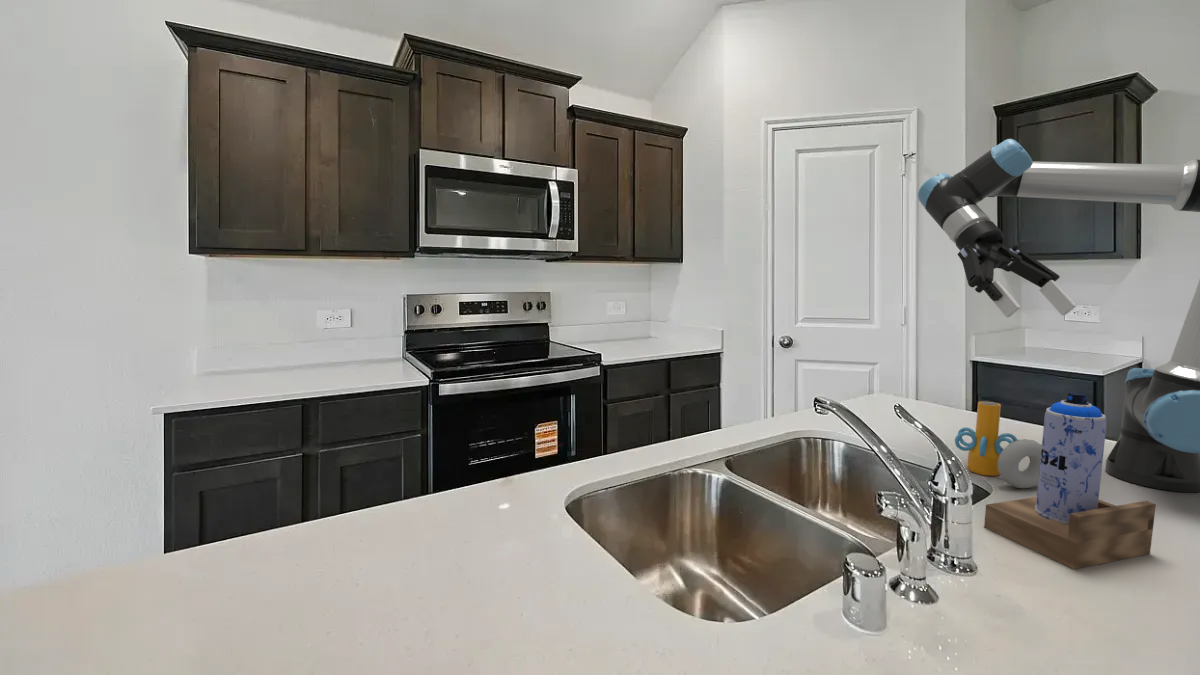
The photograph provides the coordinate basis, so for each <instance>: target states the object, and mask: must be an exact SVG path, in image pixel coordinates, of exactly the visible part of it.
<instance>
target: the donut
mask: <svg viewBox="0 0 1200 675" xmlns="http://www.w3.org/2000/svg"><path fill="white" fill-rule="evenodd" d="M1041 451H1042V443H1039V442H1038V441H1036V440H1032V439H1027V438H1024V439H1019V440H1018V439H1017V441H1014V442H1012V443H1008V444H1007V445H1006V446H1005V447H1004V448H1003V451H1002V452H1001V454H1000V456H999V460H998V470H999V473H1000V475H999V476H1000V478H1002V479H1003V481H1004V482H1005V483H1006V484H1007V485H1010V486H1011V487H1014V488H1017V489H1029V488H1034V487H1036V486H1038V483H1039V472H1040V461H1041ZM1026 457H1028V458H1029V463H1028V466H1027V467H1026V468H1025V469H1022V470H1020V468H1019V466H1020V462H1021V461H1022V460H1023V459H1024V458H1026Z"/></svg>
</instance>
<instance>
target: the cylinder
mask: <svg viewBox="0 0 1200 675" xmlns="http://www.w3.org/2000/svg"><path fill="white" fill-rule="evenodd" d="M1001 408H1002V405H1001V403H999V402H994V401H987V400H986V401H985V400H983V401H982V400H981V401H978V402H977V409H976V410H977V411H976V423H975V430H974V429H972V428H971V427H968V426H967V427H962V428H960V429H959V430H958V431H957V435H956V436H955V439H954V444H955V445H954V446H956V448H957V449H959V450H961V451H963V452H967V453H968V454H967V455H968V456H967V465H966V468H967V470H969V471H970V473H971V472H972V473H974V474H978V475H981V476H986V477H996V476H1001V475H1000V473H999V470H998V460H999V456H1000V454H1001V452H1002V451H1003V449H1004V448H1003V447H1002V446H1001V443H1002V442H1007V443H1008V444H1010V443H1012V442H1014V441H1017V440H1018V437H1016V435H1014V434H1012V433H1007V432H1005V433H1002V434H1000V435H999V431H1000V421H1001V419H1000V418H1001ZM964 436H968V437H970V438H971V440H972V441H971V442H968V443H967V442H966V441H965V440H964V439H963V437H964ZM962 445H963V446H962Z"/></svg>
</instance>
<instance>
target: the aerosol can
mask: <svg viewBox="0 0 1200 675" xmlns="http://www.w3.org/2000/svg"><path fill="white" fill-rule="evenodd" d="M1043 419H1044V422H1043V431H1042V441H1041V442H1042V443H1041V445H1042V451H1041V461H1040V472H1039V483H1038V485H1037V494H1036V495H1037V496H1036V497H1037V505H1035V512H1036V513H1037V514H1039V515H1040V516H1042V517H1044V518H1047V519H1049V520H1052V521H1055V522H1058V523H1062V524H1067V525H1069V520H1070V513H1076V512H1082V511H1088V510H1094V509H1098V500H1100V499H1099V497H1100V488H1101V480H1102V470H1103V468H1102V467H1103V459H1104V450H1105V441H1106V433H1107V432H1106V431H1107V417H1106V415H1105V414H1103V413H1102V410H1101V409H1100V408H1099V407H1097V406H1095V405H1093V404H1092V403H1090V402H1087V395H1085V394H1080V393H1077V392H1069V391H1068V392H1067V397H1066V399H1062V400H1060V401H1058V402H1055V403H1053V404H1051V406H1050V407H1047V408H1046V410H1045V413H1044V418H1043Z"/></svg>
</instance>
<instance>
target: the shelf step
mask: <svg viewBox="0 0 1200 675" xmlns="http://www.w3.org/2000/svg"><path fill="white" fill-rule="evenodd" d="M1035 505H1037V496H1033V497H1028V498H1027V497H1026V498H1021V499H1013V500H1007V501H1006V500H1005V501H1000V502H994V503H993V502H992V503H986V504H985V512H984V521H983V522H984V523H983V524H984V525H983V527H984V528H985V529H986V530H987V529H988V530H990V531H991V532H993V533H996V534H998V535H1000V536H1002V537H1004V538H1006V539H1009V540H1011V541H1013V542H1015V543H1017V544H1019V545H1021V546H1023V547H1026V548H1027V549H1029V550H1032V551H1034V552H1035V553H1038V554H1040V555H1042V556H1045V557H1046V558H1049V559H1050V560H1052V561H1055V562H1057V563H1059V564H1061V565H1063V566H1066V567H1068V568H1069V569H1072V570H1077V569H1081V568H1088V567H1092V566H1096V565H1101V564H1106V563H1111V562H1116V561H1120V560H1127V559H1131V558H1135V557H1141V556H1144V555H1150V554H1151V549H1152V548H1151V547H1152V540H1153V531H1154V525H1155V524H1154V522H1155V517H1156V516H1155V514H1156V506H1157V504H1156V503H1154V502H1152V501H1148V500H1143V501H1137V502H1131V503H1125V504H1118V505H1115V504H1112V503H1110V502H1106V501H1104V500H1100V499H1098V509H1094V510H1088V511H1082V512H1076V513H1070V520H1069V525H1067V524H1062V523H1058V522H1055V521H1052V520H1049V519H1047V518H1044V517H1042V516H1040V515H1039V514H1037V513H1036V512H1035Z"/></svg>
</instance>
